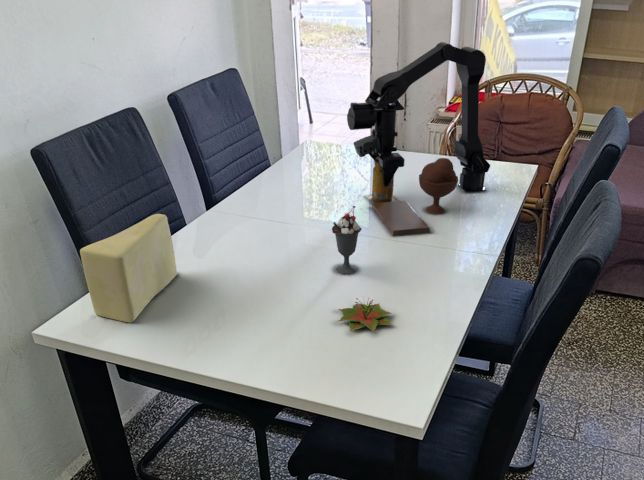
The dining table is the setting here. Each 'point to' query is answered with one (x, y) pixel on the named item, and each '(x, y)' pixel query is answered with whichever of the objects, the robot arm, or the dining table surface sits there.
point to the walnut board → (400, 218)
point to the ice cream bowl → (438, 182)
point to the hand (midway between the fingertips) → (382, 182)
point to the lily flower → (365, 316)
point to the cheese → (129, 268)
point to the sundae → (346, 240)
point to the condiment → (380, 186)
